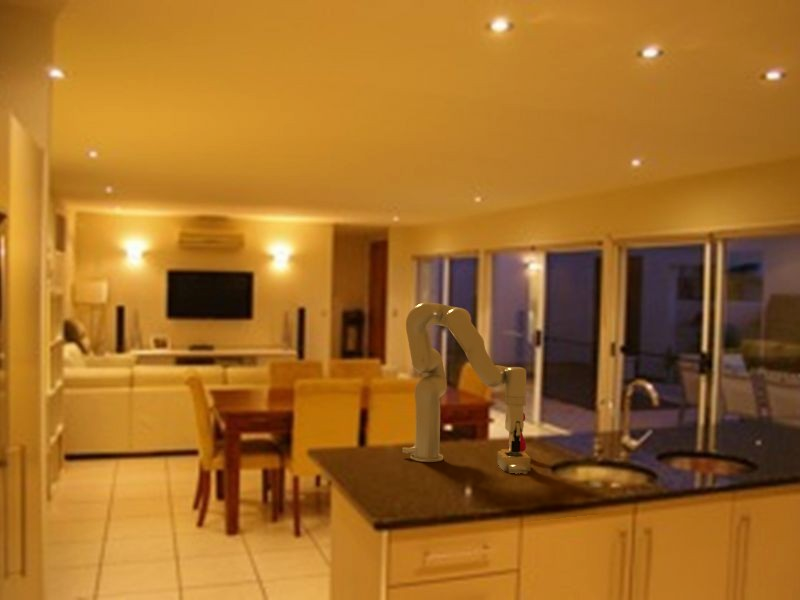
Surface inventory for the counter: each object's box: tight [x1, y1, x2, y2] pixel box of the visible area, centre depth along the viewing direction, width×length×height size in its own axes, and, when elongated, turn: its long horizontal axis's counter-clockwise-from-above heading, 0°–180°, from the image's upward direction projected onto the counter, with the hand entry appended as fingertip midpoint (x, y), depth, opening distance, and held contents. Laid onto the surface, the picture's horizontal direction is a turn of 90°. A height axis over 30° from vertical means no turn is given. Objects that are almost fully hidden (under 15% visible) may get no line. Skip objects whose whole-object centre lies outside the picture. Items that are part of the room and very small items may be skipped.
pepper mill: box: [507, 412, 527, 452], centre depth 271 cm, size 7×7×20 cm
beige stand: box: [497, 448, 531, 475], centre depth 253 cm, size 10×17×5 cm, turn 3°
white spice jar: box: [508, 428, 521, 456], centre depth 253 cm, size 5×5×12 cm
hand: (514, 449), depth 253 cm, fingers closed on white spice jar, 4 cm apart
